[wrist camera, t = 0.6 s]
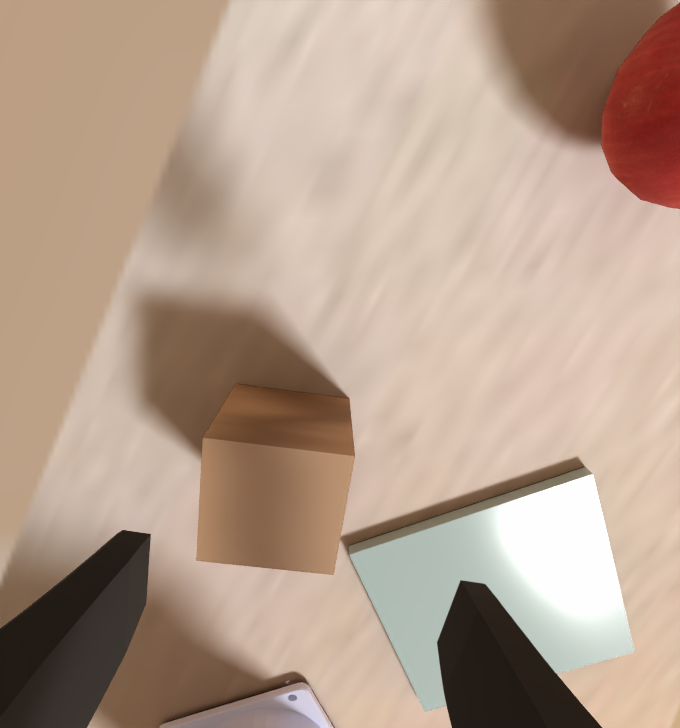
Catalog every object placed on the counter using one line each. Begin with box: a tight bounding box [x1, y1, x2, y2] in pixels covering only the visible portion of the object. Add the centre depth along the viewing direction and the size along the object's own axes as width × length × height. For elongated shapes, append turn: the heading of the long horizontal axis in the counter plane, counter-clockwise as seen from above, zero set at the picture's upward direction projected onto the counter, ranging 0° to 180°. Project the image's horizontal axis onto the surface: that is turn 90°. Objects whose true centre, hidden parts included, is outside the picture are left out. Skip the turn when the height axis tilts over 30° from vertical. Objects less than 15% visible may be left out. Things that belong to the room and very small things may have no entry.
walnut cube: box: [196, 384, 355, 575], centre depth 17 cm, size 5×5×5 cm
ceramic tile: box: [349, 467, 635, 712], centre depth 22 cm, size 12×12×1 cm
